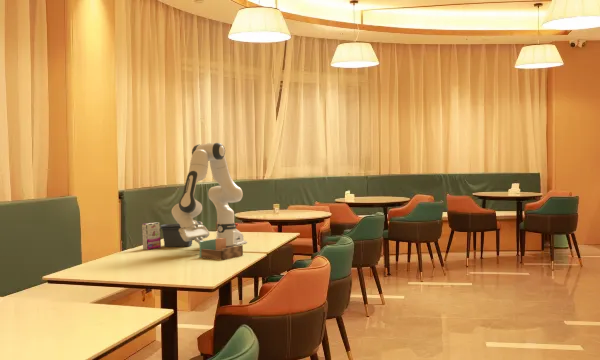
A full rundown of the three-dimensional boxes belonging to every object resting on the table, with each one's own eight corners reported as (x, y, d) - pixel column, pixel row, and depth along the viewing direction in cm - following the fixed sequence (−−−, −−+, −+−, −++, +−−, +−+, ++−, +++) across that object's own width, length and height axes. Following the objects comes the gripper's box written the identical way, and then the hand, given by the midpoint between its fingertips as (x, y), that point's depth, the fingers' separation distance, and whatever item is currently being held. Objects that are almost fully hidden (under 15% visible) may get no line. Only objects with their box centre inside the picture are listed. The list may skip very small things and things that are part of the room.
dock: (222, 253, 389) (221, 243, 389) (242, 255, 380) (242, 245, 380) (201, 257, 374) (201, 247, 374) (222, 259, 365) (222, 249, 365)
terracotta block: (221, 253, 381) (220, 237, 380) (226, 253, 378) (225, 238, 378) (215, 254, 377) (215, 238, 377) (221, 254, 375) (220, 239, 374)
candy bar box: (156, 247, 423) (155, 222, 423) (161, 247, 420) (160, 222, 420) (142, 249, 414) (141, 223, 414) (147, 250, 411) (146, 224, 411)
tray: (219, 253, 390) (218, 238, 389) (240, 255, 381) (239, 239, 380) (199, 257, 376) (199, 241, 375) (221, 259, 366) (220, 243, 366)
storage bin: (159, 247, 422) (158, 225, 422) (166, 244, 437) (165, 223, 437) (191, 247, 420) (190, 225, 419) (197, 244, 435) (196, 222, 435)
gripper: (179, 225, 381) (192, 242, 376) (203, 221, 398) (216, 238, 393) (174, 232, 384) (187, 249, 379) (198, 228, 401) (210, 245, 396)
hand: (202, 243), depth 386 cm, fingers closed
